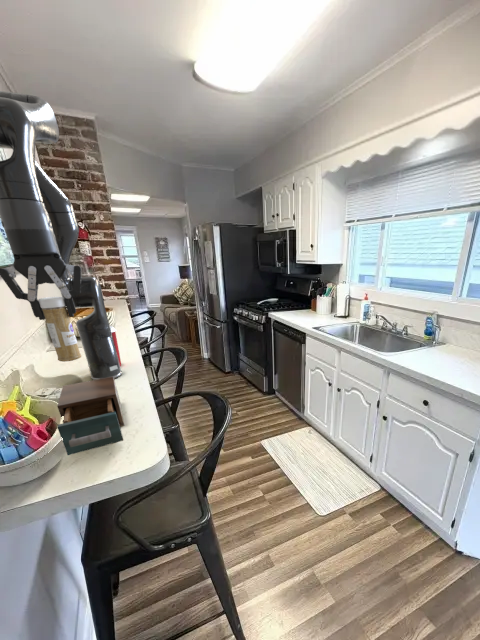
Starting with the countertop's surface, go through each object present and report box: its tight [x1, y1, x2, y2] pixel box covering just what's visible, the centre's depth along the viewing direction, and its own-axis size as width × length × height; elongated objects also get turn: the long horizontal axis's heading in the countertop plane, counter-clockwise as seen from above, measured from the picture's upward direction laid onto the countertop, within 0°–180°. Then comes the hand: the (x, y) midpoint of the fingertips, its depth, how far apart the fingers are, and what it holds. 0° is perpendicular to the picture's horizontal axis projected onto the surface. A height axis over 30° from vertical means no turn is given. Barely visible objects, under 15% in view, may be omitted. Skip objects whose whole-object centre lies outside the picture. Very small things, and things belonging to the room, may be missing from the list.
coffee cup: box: [110, 325, 122, 367], centre depth 116 cm, size 8×8×15 cm
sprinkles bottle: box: [38, 296, 82, 363], centre depth 67 cm, size 5×5×14 cm
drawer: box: [57, 398, 124, 456], centre depth 68 cm, size 17×10×7 cm, turn 30°
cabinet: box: [56, 377, 125, 427], centre depth 78 cm, size 14×12×9 cm
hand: (57, 317), depth 66 cm, fingers closed on sprinkles bottle, 4 cm apart
